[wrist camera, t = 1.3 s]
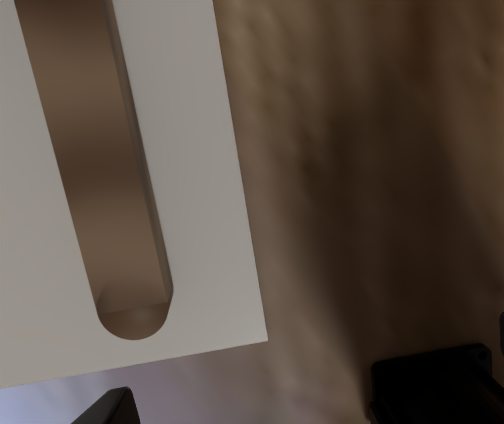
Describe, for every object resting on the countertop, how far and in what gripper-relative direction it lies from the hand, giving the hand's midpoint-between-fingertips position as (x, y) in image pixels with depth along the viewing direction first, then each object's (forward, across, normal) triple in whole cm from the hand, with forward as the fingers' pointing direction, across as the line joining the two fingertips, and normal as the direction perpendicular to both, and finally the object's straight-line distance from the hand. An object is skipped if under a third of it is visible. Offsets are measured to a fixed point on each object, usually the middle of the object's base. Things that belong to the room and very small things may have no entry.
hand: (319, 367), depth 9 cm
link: (+11, +6, -6) cm, 14 cm away
